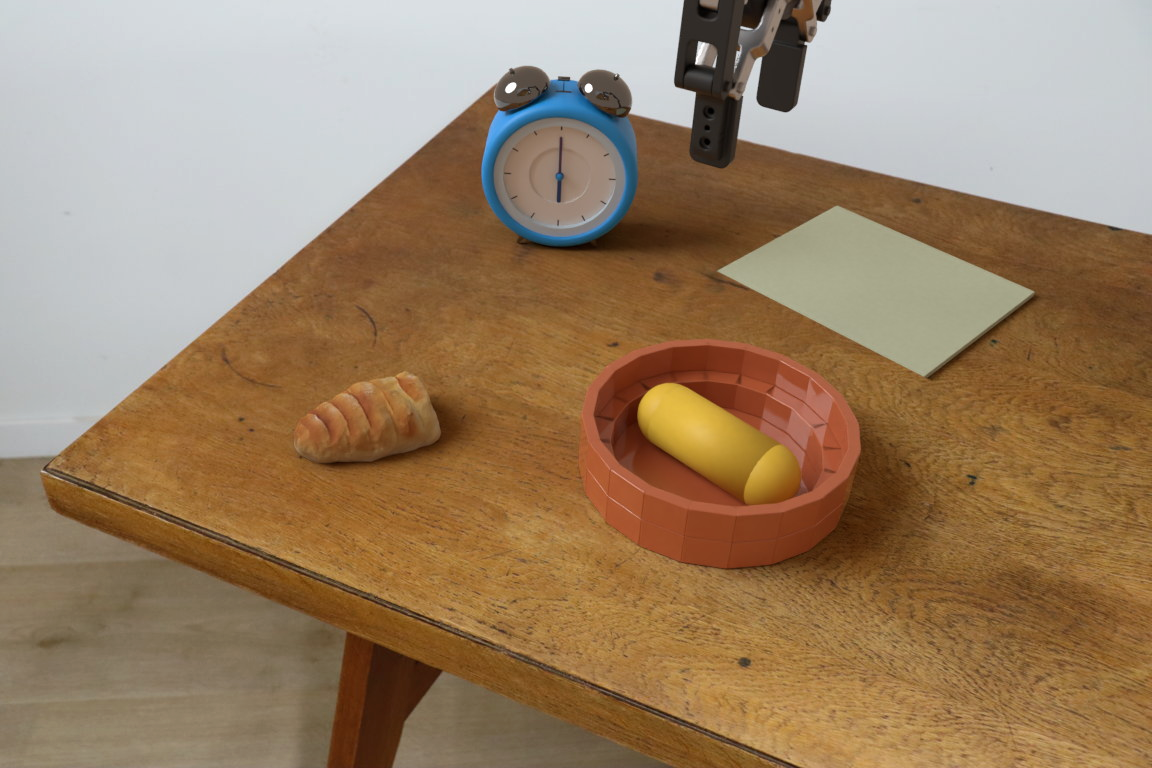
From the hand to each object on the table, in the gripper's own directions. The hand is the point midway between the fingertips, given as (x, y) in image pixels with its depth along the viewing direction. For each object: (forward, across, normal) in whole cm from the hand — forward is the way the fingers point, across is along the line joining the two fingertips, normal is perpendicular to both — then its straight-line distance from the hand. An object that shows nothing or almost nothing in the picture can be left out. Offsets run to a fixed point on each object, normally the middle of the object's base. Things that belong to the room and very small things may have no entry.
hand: (745, 133), depth 59 cm
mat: (+24, +29, -2) cm, 38 cm away
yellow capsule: (+24, 0, -1) cm, 24 cm away
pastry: (+25, -9, +20) cm, 33 cm away
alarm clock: (+25, +22, +24) cm, 41 cm away
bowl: (+24, 0, -1) cm, 24 cm away
